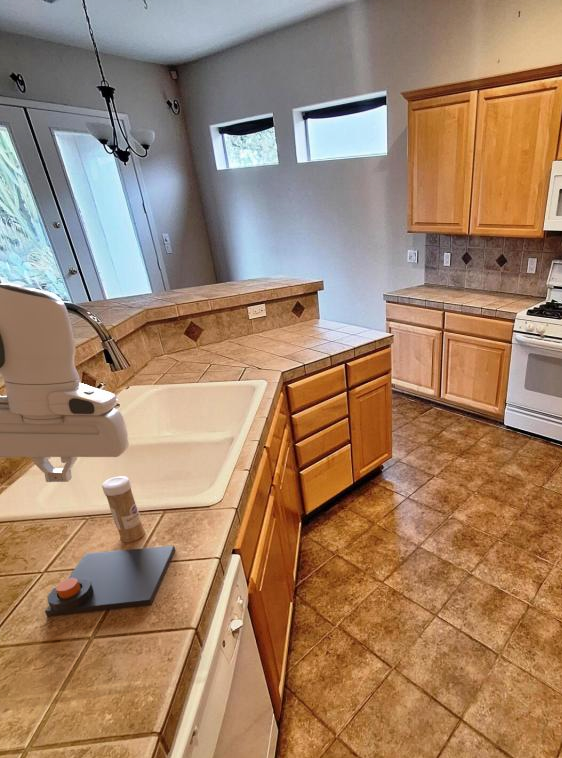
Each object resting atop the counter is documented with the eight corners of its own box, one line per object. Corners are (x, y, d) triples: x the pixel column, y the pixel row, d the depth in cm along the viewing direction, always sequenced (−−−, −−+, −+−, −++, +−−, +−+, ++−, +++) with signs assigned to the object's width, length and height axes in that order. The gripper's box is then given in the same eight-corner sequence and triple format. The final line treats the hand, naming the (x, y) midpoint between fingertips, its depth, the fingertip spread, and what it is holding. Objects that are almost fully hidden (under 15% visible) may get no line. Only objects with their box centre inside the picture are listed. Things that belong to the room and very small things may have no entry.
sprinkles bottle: (141, 541, 88) (124, 486, 82) (117, 544, 87) (97, 489, 81) (148, 527, 92) (131, 474, 86) (124, 530, 91) (106, 476, 85)
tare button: (55, 600, 71) (51, 592, 70) (64, 586, 73) (61, 578, 72) (75, 598, 71) (72, 590, 70) (84, 584, 74) (81, 576, 73)
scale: (45, 619, 70) (39, 606, 69) (87, 559, 83) (82, 546, 82) (150, 607, 73) (146, 594, 71) (175, 550, 85) (172, 538, 84)
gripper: (-53, 399, 60) (-33, 490, 64) (113, 404, 65) (122, 487, 69) (-23, 390, 66) (-6, 473, 70) (127, 395, 71) (135, 472, 75)
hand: (59, 480), depth 70 cm, fingers closed
